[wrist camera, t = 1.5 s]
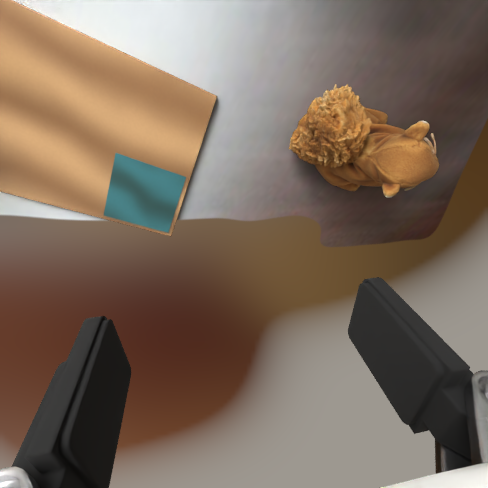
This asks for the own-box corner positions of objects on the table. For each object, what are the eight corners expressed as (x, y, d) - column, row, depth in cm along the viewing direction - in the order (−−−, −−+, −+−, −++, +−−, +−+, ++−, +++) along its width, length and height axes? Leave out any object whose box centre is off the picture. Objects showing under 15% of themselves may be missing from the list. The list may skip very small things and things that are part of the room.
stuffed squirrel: (354, 191, 38) (422, 236, 27) (265, 160, 34) (303, 197, 23) (395, 119, 34) (495, 136, 23) (300, 72, 30) (367, 65, 18)
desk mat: (-8, -9, 23) (-13, -12, 22) (216, 96, 29) (217, 96, 29) (-8, 186, 30) (-12, 189, 29) (171, 234, 37) (171, 237, 36)
